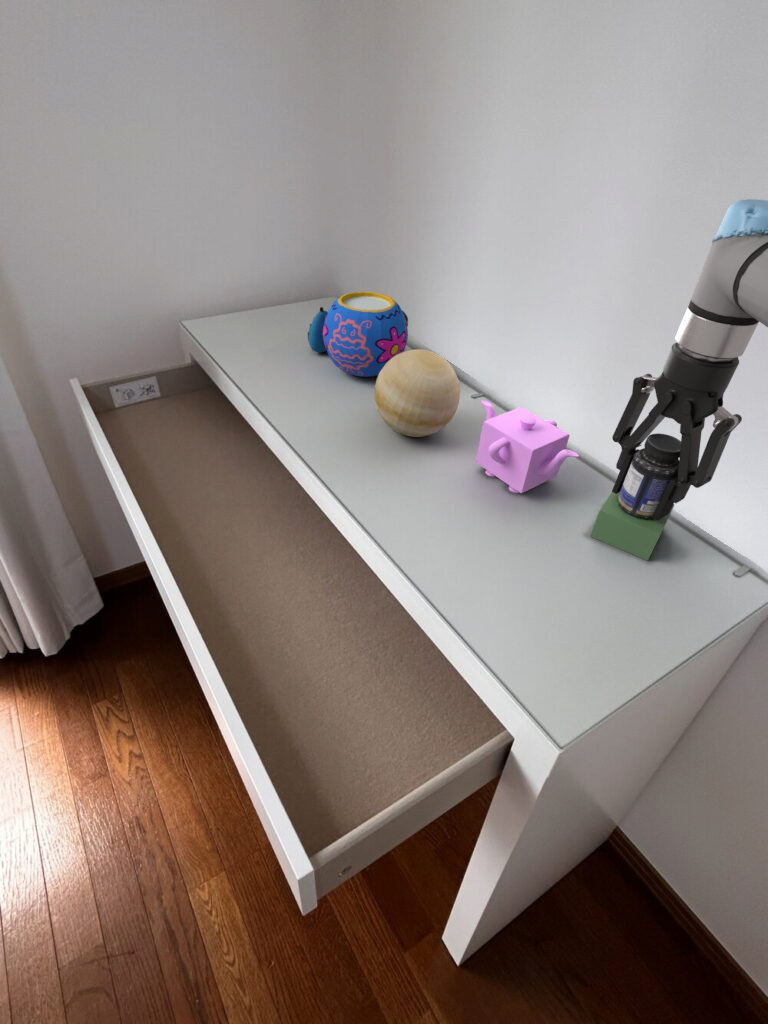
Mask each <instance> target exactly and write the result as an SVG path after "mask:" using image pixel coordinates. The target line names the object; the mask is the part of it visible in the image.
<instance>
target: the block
mask: <svg viewBox="0 0 768 1024" xmlns="http://www.w3.org/2000/svg"><path fill="white" fill-rule="evenodd" d="M619 493H620V492H619ZM619 493H617V494H615V493H613V492H612V491H610V494H609V495H608V497H607V498H606V500H605V501H604V503H603V504H602V506H601V507H600V508H599V511H598V514H597V516H596V519H595V522H594V524H593V526H592V529H591V532H590V534H589V537H591V538H594V539H596V540H598V541H601V542H602V543H604V544H607V545H610V546H612V547H614V548H616V549H619V550H621V551H623V552H626V553H628V554H630V555H633V556H636V557H638V558H640V559H643V560H645V561H649V560H650V557H651V555H652V553H653V551H654V549H655V547H656V545H657V543H658V540H659V539H660V537H661V535H662V532H663V530H664V529H665V526H666V524H667V522H668V520H669V518H670V516H671V514H672V511H673V509H674V507H675V503H674V504H673V506H672V508H671V510H670V512H669V514H668V515H666V516H664V517H663V518H661V519H659V520H658V521H657V520H656V519H654V518H652V519H643V518H638V517H635V516H632V515H629V514H627V513H626V512H624V511H623V510H622V509H621V508H620V507H619V505H618V502H617V498H618V496H619Z"/></svg>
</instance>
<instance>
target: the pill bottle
mask: <svg viewBox="0 0 768 1024" xmlns="http://www.w3.org/2000/svg"><path fill="white" fill-rule="evenodd" d="M643 446H644V448H641V449H639V451H638V452H637V453H636V454H635V455H634V458H633V460H632V463H631V465H630V468H629V470H628V473H627V475H626V478H625V481H624V483H623V486H622V488H621V491H620V493H619V496H618V498H617V502H618V505H619V507H620V508H621V509H622V510H623V511H624V512H626V513H627V514H629V515H632V516H635V517H638V518H643V519H652V518H653V516H654V514H655V512H656V510H657V508H658V505H659V503H660V501H661V499H662V497H663V495H664V493H665V490H666V488H667V486H668V484H669V482H670V480H671V479H673V478H675V477H677V476H678V469H679V459H680V448H681V439H678V438H677V437H675V436H673V435H669V434H665V433H658V432H657V433H650V434H649V436H648V437H647V438H646V439H645V441H644V445H643Z"/></svg>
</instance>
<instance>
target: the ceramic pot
mask: <svg viewBox="0 0 768 1024" xmlns="http://www.w3.org/2000/svg"><path fill="white" fill-rule="evenodd" d="M327 312H328V313H327V316H326V318H325V322H324V328H323V338H324V343H325V347H326V349H327V350H326V352H327V354H328V356H329V359H330V360H331V361H332V363H333V364H334V365H335V366H336V367H337V368H338V369H339V370H341V371H343V372H344V373H347V374H350V375H352V376H357V377H364V378H365V377H366V378H369V377H376V376H377V377H378V375H379V373H380V371H381V370H382V368H383V367H384V366H385V364H386V363H387V362H388V361H389V360H391V359H392V358H393V357H394V356H396V355H398V354H400V353H402V352H405V351H406V347H407V343H408V338H409V330H408V327H409V317H408V315H407V313H406V312H405V311H404V310H402V308H401V306H400V304H399V303H398V302H397V301H396V300H395V299H393V298H392V297H390V296H388V295H385V294H382V293H378V292H372V291H353V292H348V293H345V294H343V295H341V296H339V297H338V298H337V299H336V300H334V301H333V303H332V304H331V305H330V308H329V309H328V311H327Z"/></svg>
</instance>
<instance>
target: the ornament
mask: <svg viewBox="0 0 768 1024" xmlns="http://www.w3.org/2000/svg"><path fill="white" fill-rule="evenodd" d="M327 313H328V311H327V310H325V309H324V307H323V306H320V308H319V311H318V312H317V313H316V314H315V316H314V317H313V318H312V321H311V323H309V329H308V332H307V341H308V345H309V347H310V349H311V350H312V351H313V352H315V353H317V354H318V353H324V352H327V349H326V347H325V343H324V338H323V328H324V322H325V318H326V316H327Z"/></svg>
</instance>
